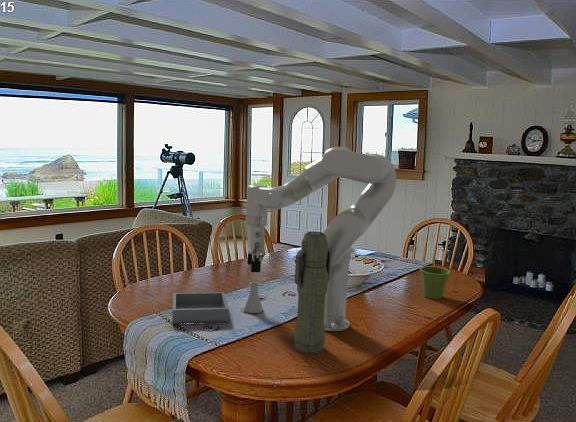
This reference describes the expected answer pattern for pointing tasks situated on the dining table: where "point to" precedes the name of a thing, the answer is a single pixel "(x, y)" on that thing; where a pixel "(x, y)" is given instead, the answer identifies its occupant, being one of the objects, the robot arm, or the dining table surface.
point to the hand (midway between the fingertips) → (253, 268)
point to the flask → (253, 300)
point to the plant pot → (434, 281)
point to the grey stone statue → (311, 292)
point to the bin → (200, 308)
